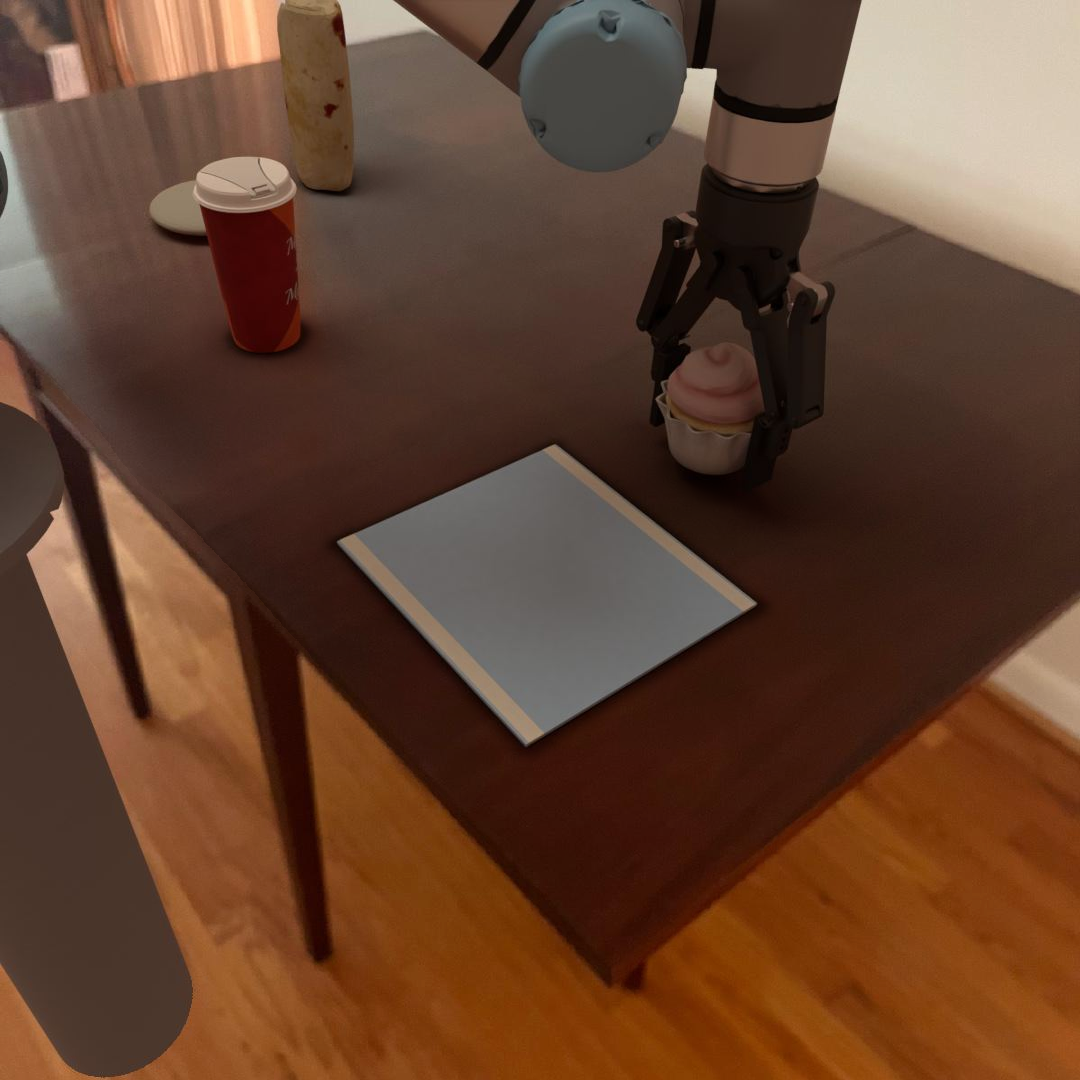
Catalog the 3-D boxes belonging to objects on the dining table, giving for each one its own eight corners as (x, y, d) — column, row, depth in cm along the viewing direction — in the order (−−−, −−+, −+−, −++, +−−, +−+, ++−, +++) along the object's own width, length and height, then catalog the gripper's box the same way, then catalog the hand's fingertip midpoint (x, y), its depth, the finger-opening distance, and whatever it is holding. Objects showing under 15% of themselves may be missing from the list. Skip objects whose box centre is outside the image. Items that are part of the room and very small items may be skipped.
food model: (372, 191, 118) (359, -2, 105) (316, 203, 115) (296, 6, 102) (336, 160, 124) (319, -27, 110) (282, 170, 121) (259, -20, 108)
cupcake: (625, 436, 83) (638, 326, 76) (718, 406, 87) (739, 298, 80) (696, 504, 77) (717, 391, 71) (792, 468, 81) (821, 357, 74)
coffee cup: (330, 341, 94) (313, 179, 84) (246, 370, 90) (218, 204, 80) (284, 302, 99) (263, 145, 89) (203, 328, 95) (171, 166, 85)
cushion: (136, 242, 107) (129, 214, 105) (172, 192, 116) (167, 165, 114) (253, 249, 107) (249, 221, 105) (281, 199, 116) (277, 172, 114)
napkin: (337, 544, 75) (336, 540, 74) (555, 446, 84) (555, 443, 84) (526, 747, 62) (526, 744, 62) (756, 606, 72) (757, 602, 72)
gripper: (940, 219, 62) (849, 506, 77) (683, 104, 75) (648, 371, 90) (860, 251, 59) (781, 546, 74) (604, 125, 71) (581, 399, 86)
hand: (708, 450), depth 82 cm, fingers closed on cupcake, 9 cm apart
